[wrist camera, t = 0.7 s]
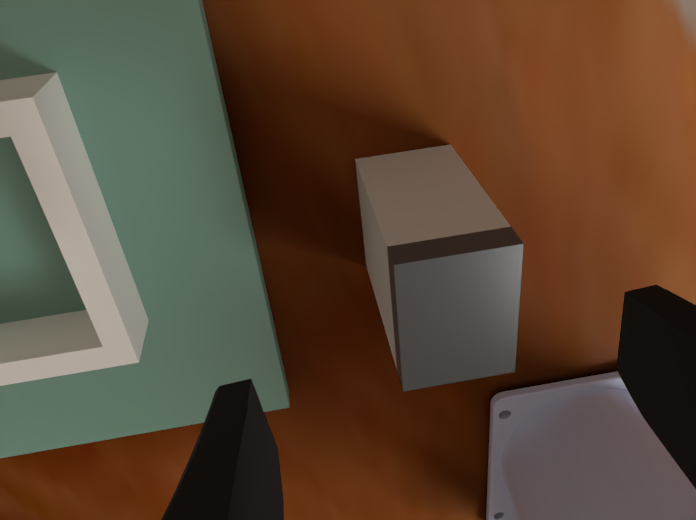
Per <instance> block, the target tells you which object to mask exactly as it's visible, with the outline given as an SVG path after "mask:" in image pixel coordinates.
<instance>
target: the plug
mask: <svg viewBox="0 0 696 520" xmlns="http://www.w3.org/2000/svg"><path fill="white" fill-rule="evenodd" d="M355 163H356V173H357V183H358V192H359V202H360V211H361V221H362V230H363V240H364V249H365V259H366V267H367V270H368V274H369V277H370V281H371V284H372V287H373V291H374V294H375V298H376V301H377V304H378V308H379V311H380V315H381V318H382V321H383V325H384V328H385V332H386V335H387V338H388V342H389V345H390V349H391V352H392V355H393V359H394V362H395V366H396V369H397V372H398V376H399V379H400V383H401V386H402V389H403V392H404V391H410V390H415V389H421V388H427V387H432V386H438V385H444V384H449V383H455V382H461V381H466V380H472V379H478V378H483V377H489V376H495V375H501V374H506V373H512V372H515V363H516V348H517V333H518V318H519V303H520V289H521V274H522V259H523V242H522V241H521V240H520V238H519V237H518V236H517V234H516V233H515V232H514V230H513V229H512V227H511V226H510V225H509V223H508V222H507V221H506V219H505V218H504V217H503V215H502V214H501V213H500V211H499V210H498V208H497V207H496V206H495V204H494V203H493V202H492V200H491V199H490V198H489V196H488V195H487V193H486V192H485V191H484V189H483V188H482V187H481V185H480V184H479V183H478V181H477V180H476V179H475V177H474V176H473V174H472V173H471V172H470V170H469V169H468V168H467V166H466V165H465V164H464V162H463V161H462V160H461V158H460V157H459V155H458V154H457V153H456V151H455V150H454V149H453V147H452V146H451V145H444V146H437V147H431V148H424V149H418V150H411V151H404V152H398V153H391V154H385V155H378V156H372V157H365V158H359V159H355Z"/></svg>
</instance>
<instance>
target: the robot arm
mask: <svg viewBox="0 0 696 520" xmlns="http://www.w3.org/2000/svg"><path fill="white" fill-rule="evenodd" d="M616 369H617V371H616V372H611V373H605V374H599V375H594V376H588V377H582V378H577V379H571V380H565V381H560V382H554V383H549V384H543V385H537V386H532V387H526V388H520V389H515V390H509V391H503V392H500V393H498V394H496V395H495V396H494V397H493V398H492V399H491V406H490V431H489V457H488V483H487V508H486V520H696V305H694V304H692V303H690V302H688V301H687V300H685V299H683V298H681V297H679V296H677V295H675V294H673V293H671V292H670V291H668V290H666V289H664V288H662V287H660V286H658V285H653V286H649V287H644V288H640V289H636V290H632V291H627V292H625V295H624V304H623V313H622V323H621V332H620V341H619V350H618V359H617V368H616ZM502 411H503V412H502ZM161 520H284V509H283V492H282V482H281V473H280V464H279V456H278V448H277V446H276V443H275V440H274V438H273V435H272V432H271V430H270V427H269V424H268V422H267V419H266V416H265V414H264V411H263V408H262V406H261V403H260V400H259V398H258V395H257V393H256V390H255V387H254V385H253V382H252V379H247V380H243V381H238V382H234V383H230V384H225V385H221V386H219V387H218V388H217V390H216V391H215V394H214V397H213V399H212V402H211V405H210V408H209V411H208V414H207V416H206V419H205V422H204V424H203V427H202V430H201V432H200V435H199V437H198V440H197V442H196V445H195V447H194V450H193V452H192V454H191V457H190V459H189V461H188V464H187V466H186V468H185V470H184V473H183V475H182V477H181V480H180V482H179V484H178V486H177V489H176V491H175V493H174V495H173V497H172V499H171V501H170V503H169V505H168V507H167V509H166V511H165V513H164V515H163V517H162V519H161Z"/></svg>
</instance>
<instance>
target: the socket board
mask: <svg viewBox="0 0 696 520" xmlns="http://www.w3.org/2000/svg"><path fill="white" fill-rule="evenodd" d="M247 379H252V382H253V385H254V387H255V390H256V393H257V395H258V398H259V400H260V403H261V406H262V408H263V411H264V412H267V411H273V410H279V409H284V408H290V404H289V390H288V384H287V380H286V375H285V371H284V366H283V362H282V357H281V353H280V348H279V344H278V339H277V335H276V330H275V326H274V321H273V317H272V312H271V308H270V303H269V299H268V294H267V290H266V285H265V281H264V276H263V272H262V267H261V263H260V258H259V254H258V249H257V245H256V240H255V236H254V231H253V227H252V222H251V218H250V213H249V209H248V204H247V200H246V195H245V191H244V186H243V182H242V177H241V173H240V168H239V164H238V159H237V155H236V150H235V146H234V141H233V137H232V132H231V128H230V123H229V119H228V114H227V110H226V105H225V101H224V96H223V92H222V87H221V83H220V78H219V74H218V69H217V64H216V60H215V55H214V51H213V46H212V42H211V37H210V33H209V28H208V24H207V19H206V15H205V10H204V6H203V1H202V0H0V458H5V457H10V456H16V455H22V454H28V453H33V452H39V451H45V450H50V449H56V448H62V447H67V446H73V445H79V444H85V443H90V442H96V441H102V440H107V439H113V438H119V437H125V436H130V435H136V434H142V433H147V432H153V431H159V430H164V429H170V428H176V427H182V426H187V425H193V424H199V423H204V422H205V419H206V416H207V414H208V411H209V408H210V405H211V402H212V399H213V397H214V394H215V391H216V390H217V388H218V387H219V386H221V385H225V384H230V383H234V382H238V381H243V380H247Z"/></svg>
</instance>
